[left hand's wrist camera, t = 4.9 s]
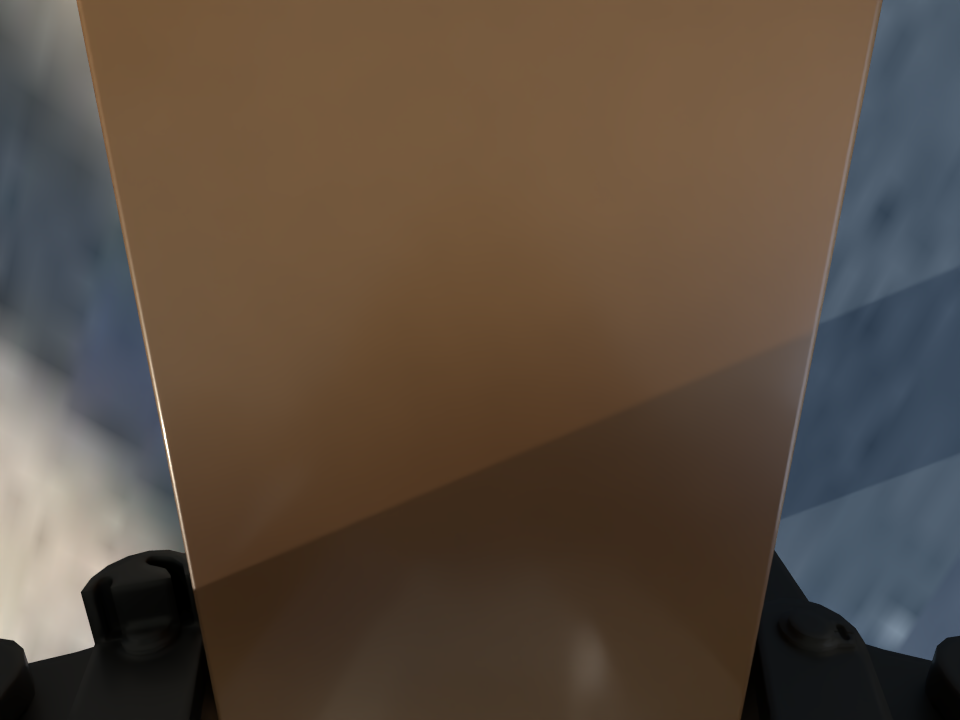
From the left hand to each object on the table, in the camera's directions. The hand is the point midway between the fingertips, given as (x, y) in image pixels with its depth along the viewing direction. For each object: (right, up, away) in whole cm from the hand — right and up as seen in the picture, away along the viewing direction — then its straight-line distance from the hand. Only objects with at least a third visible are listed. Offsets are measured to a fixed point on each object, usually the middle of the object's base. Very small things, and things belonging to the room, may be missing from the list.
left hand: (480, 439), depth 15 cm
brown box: (0, +8, -3) cm, 9 cm away
